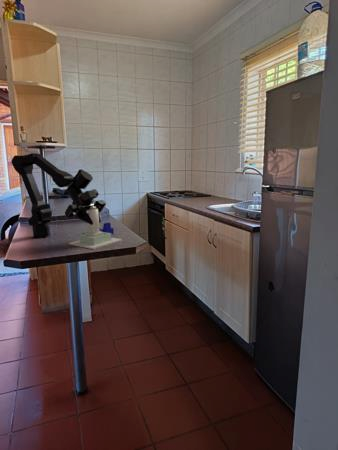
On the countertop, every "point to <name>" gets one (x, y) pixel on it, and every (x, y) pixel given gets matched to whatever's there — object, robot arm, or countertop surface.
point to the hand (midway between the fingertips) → (96, 223)
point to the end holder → (95, 241)
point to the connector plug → (94, 223)
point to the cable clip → (107, 228)
